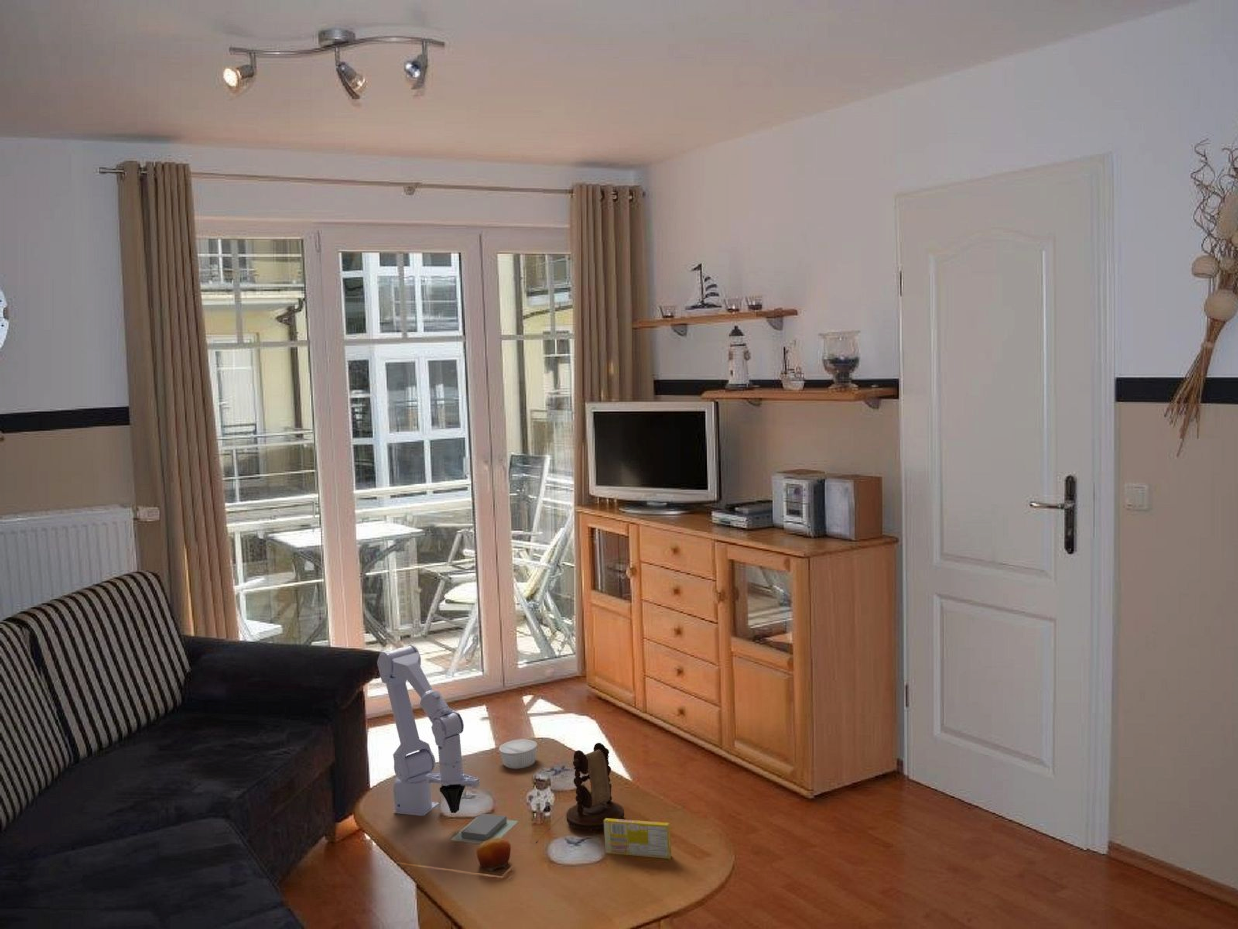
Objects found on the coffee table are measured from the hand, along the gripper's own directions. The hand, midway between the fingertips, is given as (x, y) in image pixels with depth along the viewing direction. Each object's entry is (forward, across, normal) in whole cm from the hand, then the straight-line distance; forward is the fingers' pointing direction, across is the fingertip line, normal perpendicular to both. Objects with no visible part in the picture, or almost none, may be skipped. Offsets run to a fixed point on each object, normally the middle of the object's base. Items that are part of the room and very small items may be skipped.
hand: (454, 811), depth 291 cm
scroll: (+5, +34, +12) cm, 36 cm away
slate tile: (+3, +5, 0) cm, 6 cm away
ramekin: (+5, -4, +44) cm, 44 cm away
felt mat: (+4, +8, 0) cm, 10 cm away
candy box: (+5, +51, -2) cm, 51 cm away
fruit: (+5, +20, -16) cm, 26 cm away
